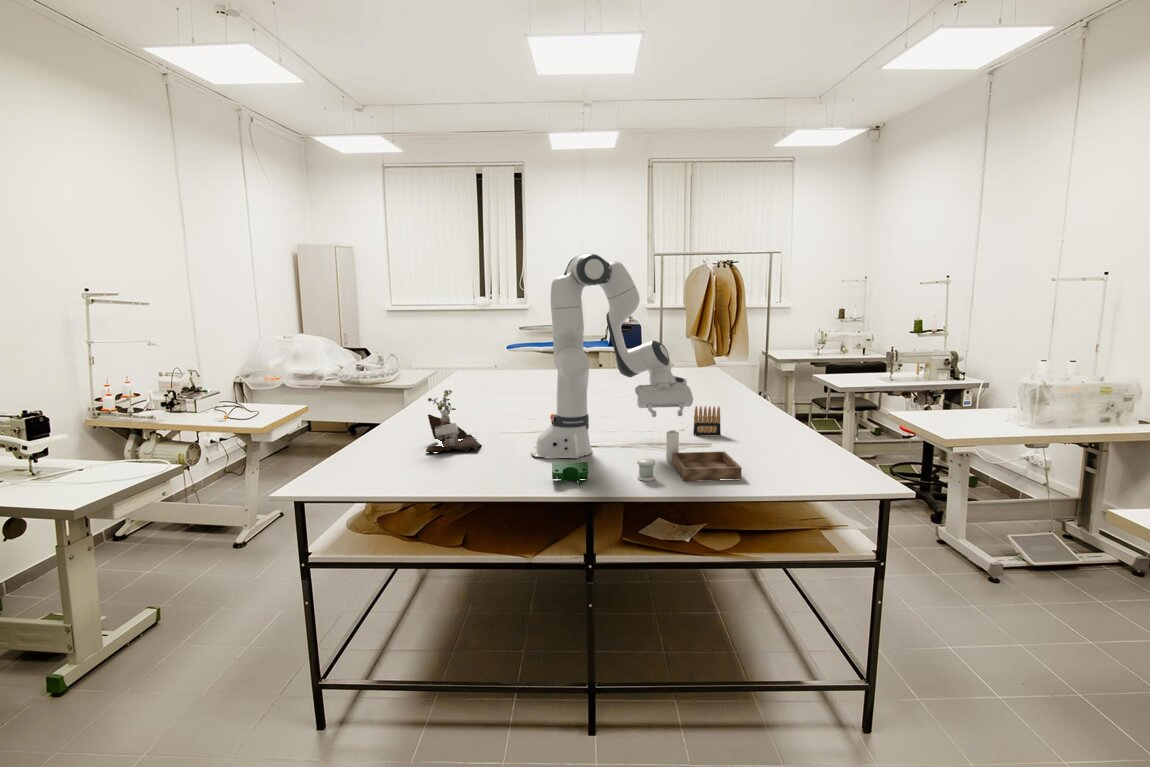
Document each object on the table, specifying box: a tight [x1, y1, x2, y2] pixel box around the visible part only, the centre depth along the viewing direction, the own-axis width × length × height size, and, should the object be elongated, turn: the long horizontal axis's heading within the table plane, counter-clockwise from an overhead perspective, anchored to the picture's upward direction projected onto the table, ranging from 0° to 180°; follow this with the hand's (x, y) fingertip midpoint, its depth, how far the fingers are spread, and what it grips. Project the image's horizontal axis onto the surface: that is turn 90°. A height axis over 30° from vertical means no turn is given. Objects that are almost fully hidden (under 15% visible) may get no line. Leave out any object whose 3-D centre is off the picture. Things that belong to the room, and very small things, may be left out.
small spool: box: [636, 457, 656, 482], centre depth 185 cm, size 6×6×6 cm
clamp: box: [551, 461, 589, 484], centre depth 182 cm, size 12×6×9 cm, turn 86°
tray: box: [671, 450, 743, 482], centre depth 191 cm, size 18×18×4 cm
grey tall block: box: [665, 429, 680, 463], centre depth 203 cm, size 4×4×11 cm
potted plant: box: [425, 389, 481, 453], centre depth 226 cm, size 20×19×25 cm
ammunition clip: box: [692, 405, 722, 436], centre depth 237 cm, size 11×2×12 cm, turn 83°
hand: (667, 415), depth 211 cm, fingers open, 8 cm apart
